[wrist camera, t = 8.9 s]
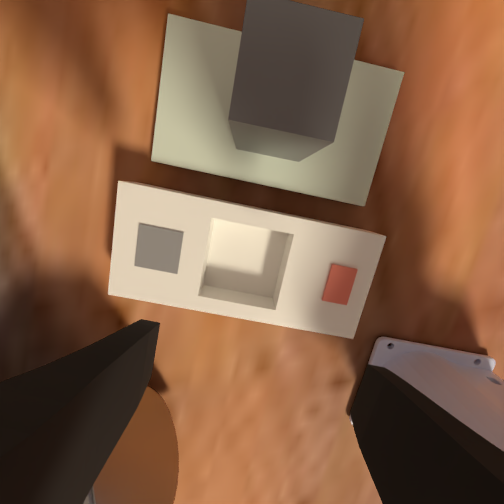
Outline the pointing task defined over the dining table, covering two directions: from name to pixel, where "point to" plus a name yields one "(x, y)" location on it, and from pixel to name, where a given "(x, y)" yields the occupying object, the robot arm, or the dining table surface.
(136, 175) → the dining table surface
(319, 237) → the socket strip
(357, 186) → the sage mat
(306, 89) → the block
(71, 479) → the robot arm
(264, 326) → the dining table surface
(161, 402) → the muzzle brake
